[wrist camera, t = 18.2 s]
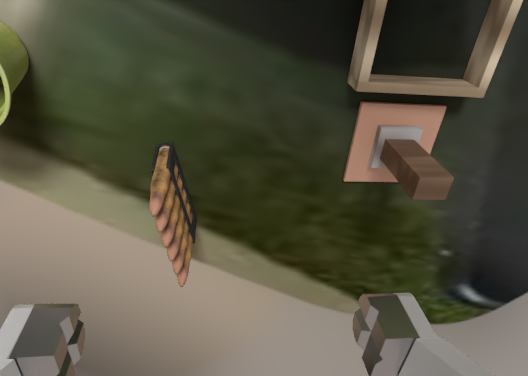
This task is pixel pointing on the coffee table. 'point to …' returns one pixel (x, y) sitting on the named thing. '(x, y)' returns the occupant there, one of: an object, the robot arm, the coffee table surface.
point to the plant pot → (10, 67)
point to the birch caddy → (472, 84)
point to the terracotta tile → (387, 115)
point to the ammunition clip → (172, 209)
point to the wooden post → (410, 162)
